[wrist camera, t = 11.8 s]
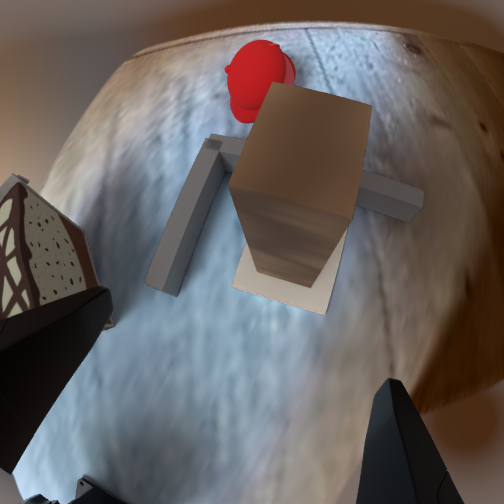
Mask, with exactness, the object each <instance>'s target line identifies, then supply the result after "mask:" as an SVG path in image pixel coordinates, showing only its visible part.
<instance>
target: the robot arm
mask: <svg viewBox="0 0 504 504" xmlns="http://www.w3.org/2000/svg"><path fill="white" fill-rule="evenodd" d="M112 311H113V305H112V299H111V293H110V290H109V289H108V288H105V287H103V286H100V285H98V286H95V287H92V288H89V289H86V290H83V291H80V292H77V293H75V294H72V295H69V296H66V297H63V298H60V299H58V300H55V301H52V302H49V303H46V304H44V305H41V306H38V307H35V308H32V309H30V310H27V311H24V312H21V313H18V314H16V315H13V316H10V318H9V317H7V318H5V319H2V320H0V468H2V469H3V470H4V471H6V472H7V473H9V474H11V473H12V472H13V470H14V469H15V467H16V465H17V463H18V462H19V460H20V458H21V456H22V455H23V453H24V451H25V450H26V448H27V446H28V444H29V443H30V441H31V439H32V438H33V436H34V434H35V433H36V431H37V429H38V428H39V426H40V425H41V423H42V421H43V420H44V418H45V417H46V415H47V413H48V412H49V410H50V409H51V407H52V406H53V404H54V403H55V401H56V400H57V398H58V397H59V395H60V393H61V392H62V390H63V389H64V388H65V386H66V385H67V383H68V382H69V380H70V379H71V377H72V376H73V374H74V373H75V371H76V370H77V369H78V367H79V366H80V364H81V363H82V361H83V360H84V359H85V357H86V356H87V354H88V353H89V351H90V350H91V348H92V347H93V345H94V344H95V342H96V340H97V338H98V337H99V335H100V333H101V331H102V330H103V328H104V326H105V324H106V323H107V321H108V319H109V318H110V316H111V314H112ZM82 482H83V483H84V484H83V483H82ZM20 504H60V503H59V502H58V500H53V501H49V500H48V499H46V498H45V497H44V496H42V495H41V494H37V495H34V496H32V497H30V498H28V499H26V500H24V501H23V502H21V503H20ZM68 504H126V503H124V502H122V501H120V500H119V499H117V498H115V497H113V496H112V495H110V494H108V493H106V492H105V491H103V490H101V489H100V488H98V487H97V486H95V485H93V484H92V483H90V482H89V481H87V480H86V479H84V478H81V479H79V480H78V483H77V490H76V498H75V499H74V500H72V501H71V502H70V503H68ZM356 504H464V502H463V500H462V498H461V496H460V495H459V493H458V491H457V489H456V487H455V485H454V483H453V481H452V479H451V476H450V474H449V472H448V471H447V468H446V466H445V464H444V462H443V460H442V458H441V456H440V454H439V452H438V450H437V448H436V446H435V444H434V442H433V440H432V438H431V436H430V434H429V432H428V430H427V428H426V426H425V424H424V422H423V421H422V419H421V417H420V415H419V413H418V411H417V409H416V407H415V405H414V404H413V402H412V400H411V398H410V396H409V395H408V393H407V391H406V389H405V387H404V385H403V384H402V382H401V381H400V380H397V379H392V378H388V379H387V380H386V381H385V382H384V383H383V385H382V386H381V387H380V388H379V390H378V391H377V392H376V394H375V396H374V399H373V404H372V410H371V415H370V420H369V425H368V430H367V434H366V439H365V445H364V452H363V461H362V468H361V476H360V483H359V488H358V494H357V500H356Z"/></svg>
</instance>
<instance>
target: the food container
mask: <svg viewBox="0 0 504 504" xmlns="http://www.w3.org/2000/svg"><path fill="white" fill-rule="evenodd" d="M28 183H29V180H28V179H26V178H24V177H22V176H20V175H17V176H16V175H15V174H13V173H12V174H11V175H10V176H9V177H8V178H7V179H6V180H5V182H4V183H3V184H2V185H1V186H0V320H2V319H5V318H7V317H9V318H10V316H13V315H16V314H18V313H21V312H24V311H27V310H30V309H32V308H35V307H38V306H41V305H44V304H46V303H49V302H52V301H55V300H58V299H60V298H63V297H66V296H69V295H72V294H75V293H77V292H80V291H83V290H86V289H89V288H92V287H95V286H98V285H100V282H99V279H98V276H97V272H96V269H95V266H94V262H93V259H92V255H91V252H90V248H89V245H88V241H87V237H86V233H85V231H84V230H83V229H82V228H80V227H79V226H78V225H76V224H75V223H74V222H73V221H71V220H70V219H69V218H67V217H66V216H65V215H64V214H62V213H61V212H60V211H59V210H57V209H56V208H55V207H54V206H52V205H51V204H50V203H49V202H47V201H46V200H45V199H44V198H42V197H41V196H40V195H39V194H38V193H36V192H35V191H34V190H33V189H32V188H30V187H29V186H28V185H27V184H28ZM100 286H101V285H100ZM112 327H115V325H114V322H113V319H112V317H111V316H110V318H109V319H108V321H107V323H106V324H105V326H104V328H103V330H108V329H110V328H112ZM103 330H102V331H103Z"/></svg>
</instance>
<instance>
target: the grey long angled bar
mask: <svg viewBox="0 0 504 504" xmlns="http://www.w3.org/2000/svg"><path fill="white" fill-rule="evenodd" d="M245 143H246V140H243V139H238V138H233V137H228V136H222V135H216V134H211V135H210V137H209V138H206V139H205V141H204V143H203V145H202V147H201V149H200V151H199V153H198V155H197V157H196V159H195V162H194V164H193V166H192V168H191V170H190V172H189V174H188V177H187V179H186V181H185V183H184V185H183V188H182V190H181V192H180V194H179V197H178V199H177V201H176V204H175V206H174V208H173V211H172V213H171V215H170V218H169V220H168V222H167V225H166V227H165V230H164V232H163V235H162V237H161V240H160V242H159V245H158V247H157V250H156V252H155V255H154V257H153V260H152V263H151V265H150V268H149V270H148V273H147V276H146V279H145V281H144V284H146V285H148V286H150V287H153V288H155V289H157V290H160V291H162V292H165V293H167V294H170V295H173V296H176V297H177V295H178V292H179V289H180V286H181V283H182V281H183V278H184V275H185V272H186V270H187V267H188V264H189V262H190V259H191V256H192V254H193V251H194V248H195V246H196V243H197V240H198V238H199V235H200V233H201V230H202V227H203V225H204V222H205V220H206V217H207V215H208V212H209V210H210V207H211V205H212V202H213V200H214V197H215V195H216V192H217V190H218V188H219V185H220V183H221V180H222V178H223V175H224V173H225V171H227V172H231V173H233V171H234V169H235V166H236V164H237V161H238V159H239V157H240V154H241V152H242V150H243V147H244V145H245ZM423 200H424V191H423V190H421V189H418V188H415V187H412V186H410V185H407V184H404V183H401V182H398V181H396V180H393V179H390V178H387V177H384V176H381V175H378V174H375V173H371V172H368V171H365V170H362V174H361V179H360V184H359V189H358V194H357V199H356V204H355V206H359V207H362V208H365V209H368V210H371V211H375V212H378V213H381V214H384V215H387V216H390V217H393V218H396V219H399V220H402V221H405V222H409V221H410V220H411V219H412V218H413V217H414V216H415V215H416V214H417V213H418V212H419V211H420V210H421V209H422V208H423ZM347 229H348V228H347ZM347 229H346V231H345V233H344V234H343V236H342V238H341V239H340V241H339V243H338V244H337V246H336V248H335V250H334V251H333V253H332V254H331V256H330V258H329V259H328V261H327V263H326V264H325V266H324V268H323V269H322V271H321V272H320V274H319V276H318V277H317V279H316V280H315V282H314V284H313V285H312V287H311V288H308V287H305V286H301V285H298V284H294V283H291V282H288V281H285V280H281V279H278V278H275V277H271V276H268V275H265V274H262V273H258V272H257V271H256V268H255V265H254V262H253V259H252V256H251V253H250V250H249V247H248V244H247V241H246V244H245V247H244V250H243V252H242V255H241V258H240V261H239V264H238V267H237V270H236V273H235V276H234V279H233V281H232V284H231V287H232V288H235V289H238V290H241V291H245V292H248V293H251V294H254V295H257V296H261V297H264V298H267V299H270V300H274V301H277V302H280V303H283V304H287V305H290V306H294V307H297V308H300V309H304V310H307V311H310V312H314V313H317V314H321V315H325V314H326V310H327V307H328V303H329V300H330V296H331V292H332V289H333V285H334V281H335V278H336V274H337V270H338V266H339V262H340V258H341V254H342V250H343V246H344V242H345V237H346V233H347Z"/></svg>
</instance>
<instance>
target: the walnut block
mask: <svg viewBox="0 0 504 504" xmlns="http://www.w3.org/2000/svg"><path fill="white" fill-rule="evenodd" d="M371 111H372V106H371V105H368V104H365V103H361V102H358V101H354V100H351V99H347V98H344V97H340V96H336V95H332V94H328V93H324V92H320V91H316V90H311V89H307V88H302V87H297V86H292V85H287V84H282V83H276V82H272V84H271V86H270V88H269V91H268V93H267V95H266V97H265V99H264V102H263V104H262V106H261V108H260V111H259V113H258V115H257V117H256V120H255V122H254V124H253V126H252V129H251V131H250V133H249V136H248V138H247V140H246V143H245V145H244V147H243V150H242V152H241V154H240V157H239V159H238V161H237V164H236V166H235V169H234V171H233V173H232V176H231V178H230V181H229V183H228V187H229V190H230V193H231V196H232V199H233V202H234V205H235V208H236V211H237V214H238V217H239V220H240V223H241V226H242V229H243V232H244V235H245V238H246V241H247V244H248V247H249V250H250V253H251V256H252V259H253V262H254V265H255V268H256V271H257V272H258V273H262V274H265V275H268V276H271V277H275V278H278V279H281V280H285V281H288V282H291V283H294V284H298V285H301V286H305V287H308V288H311V287H312V285H313V284H314V282H315V280H316V279H317V277H318V276H319V274H320V272H321V271H322V269H323V268H324V266H325V264H326V263H327V261H328V259H329V258H330V256H331V254H332V253H333V251H334V250H335V248H336V246H337V244H338V243H339V241H340V239H341V238H342V236H343V234H344V233H345V231H346V229H347V228H348V226H349V224H350V222H351V221H352V218H353V214H354V209H355V204H356V199H357V194H358V189H359V184H360V179H361V174H362V168H363V162H364V157H365V151H366V145H367V138H368V132H369V125H370V118H371Z"/></svg>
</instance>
